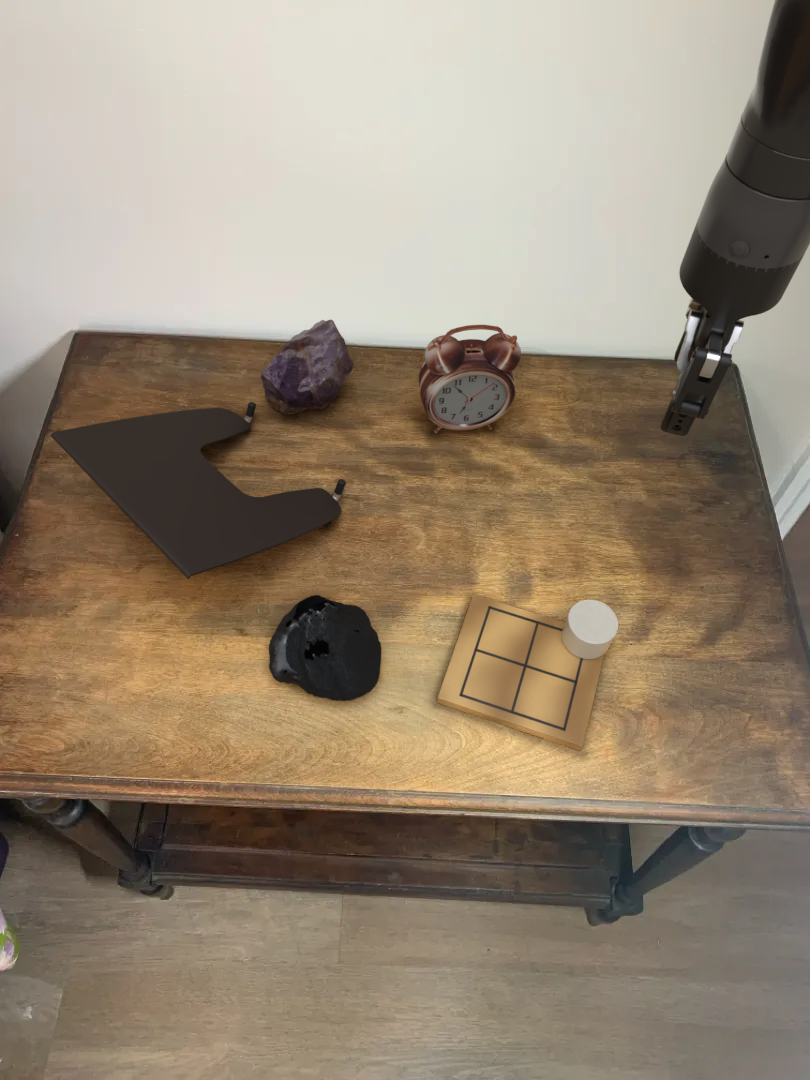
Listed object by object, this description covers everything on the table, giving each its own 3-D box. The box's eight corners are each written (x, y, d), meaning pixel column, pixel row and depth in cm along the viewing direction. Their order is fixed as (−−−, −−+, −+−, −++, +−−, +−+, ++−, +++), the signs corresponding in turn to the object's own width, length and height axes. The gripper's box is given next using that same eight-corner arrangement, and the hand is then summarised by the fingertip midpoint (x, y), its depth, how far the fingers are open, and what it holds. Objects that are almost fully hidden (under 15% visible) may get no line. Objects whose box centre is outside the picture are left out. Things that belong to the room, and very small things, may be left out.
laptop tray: (342, 562, 92) (368, 499, 87) (174, 632, 75) (194, 559, 70) (219, 448, 101) (235, 385, 96) (43, 488, 84) (52, 414, 79)
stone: (614, 624, 81) (622, 607, 78) (604, 665, 78) (613, 650, 76) (567, 609, 82) (574, 593, 79) (556, 650, 79) (563, 634, 76)
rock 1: (259, 406, 99) (321, 445, 96) (240, 360, 92) (307, 400, 88) (320, 344, 103) (382, 379, 99) (307, 295, 95) (374, 331, 92)
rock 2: (320, 663, 85) (405, 665, 81) (268, 707, 77) (360, 712, 72) (302, 580, 83) (389, 578, 79) (246, 616, 75) (340, 616, 70)
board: (605, 641, 81) (608, 635, 80) (580, 751, 75) (583, 746, 74) (472, 599, 84) (473, 592, 82) (436, 702, 77) (437, 697, 76)
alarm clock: (420, 440, 95) (427, 344, 83) (414, 410, 98) (420, 312, 85) (511, 433, 96) (531, 337, 84) (503, 403, 99) (521, 306, 86)
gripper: (804, 307, 51) (715, 468, 65) (813, 183, 59) (731, 350, 72) (686, 280, 52) (622, 444, 66) (709, 162, 60) (648, 330, 74)
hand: (679, 395), depth 69 cm, fingers open, 8 cm apart
